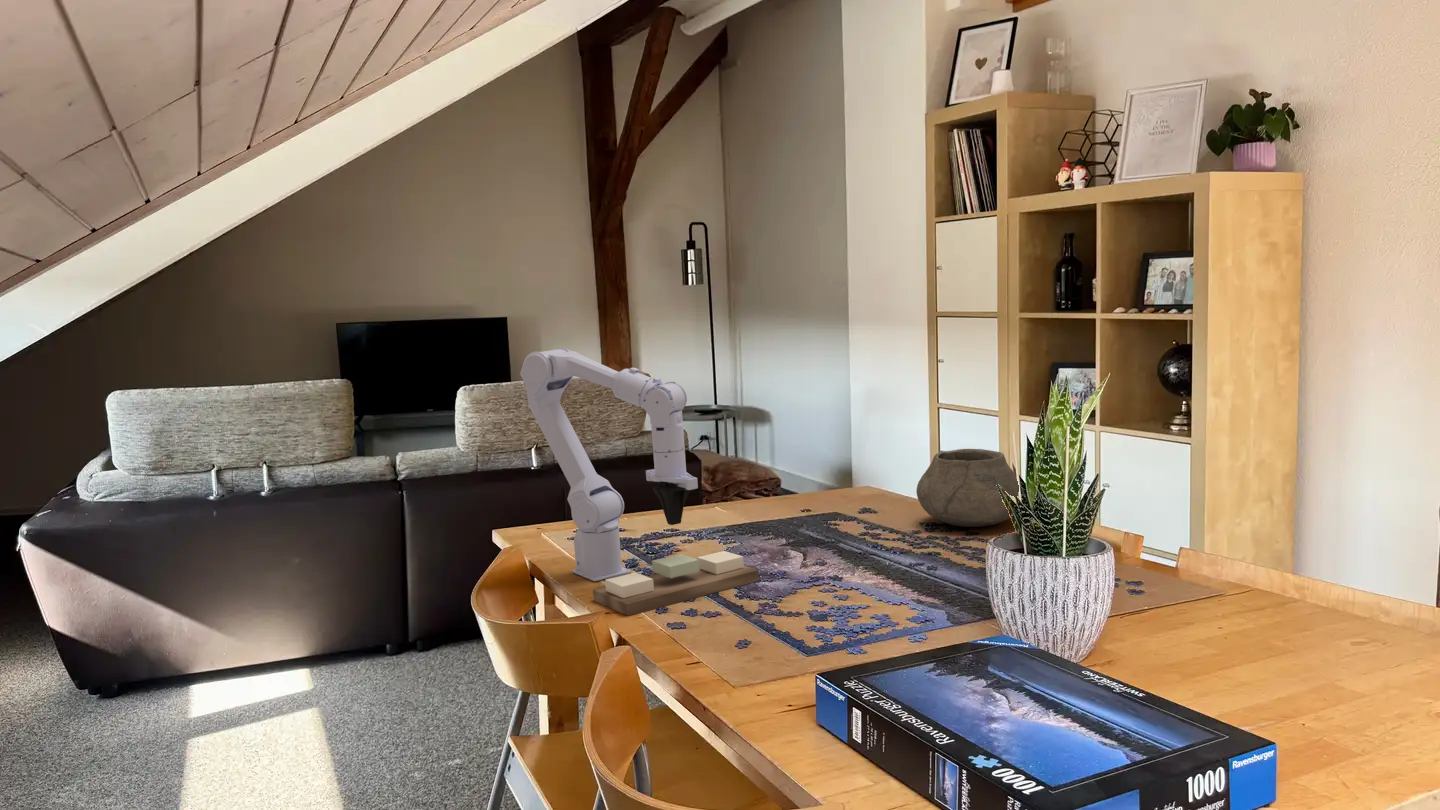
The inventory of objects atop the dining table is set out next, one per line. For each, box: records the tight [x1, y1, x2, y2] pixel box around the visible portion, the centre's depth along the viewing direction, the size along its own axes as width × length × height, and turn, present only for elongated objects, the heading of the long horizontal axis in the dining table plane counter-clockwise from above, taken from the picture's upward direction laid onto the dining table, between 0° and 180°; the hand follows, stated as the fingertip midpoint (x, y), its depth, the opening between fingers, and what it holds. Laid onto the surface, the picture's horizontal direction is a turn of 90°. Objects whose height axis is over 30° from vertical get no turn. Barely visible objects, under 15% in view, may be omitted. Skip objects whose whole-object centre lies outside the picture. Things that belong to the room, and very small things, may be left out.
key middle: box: [651, 553, 700, 578], centre depth 183 cm, size 6×6×2 cm
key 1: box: [604, 572, 654, 598], centre depth 178 cm, size 6×6×2 cm
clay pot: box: [915, 448, 1019, 528], centre depth 217 cm, size 22×21×15 cm
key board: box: [592, 565, 760, 617], centre depth 184 cm, size 12×27×2 cm, turn 125°
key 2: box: [696, 550, 745, 574], centre depth 189 cm, size 6×6×2 cm
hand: (674, 523), depth 190 cm, fingers closed
